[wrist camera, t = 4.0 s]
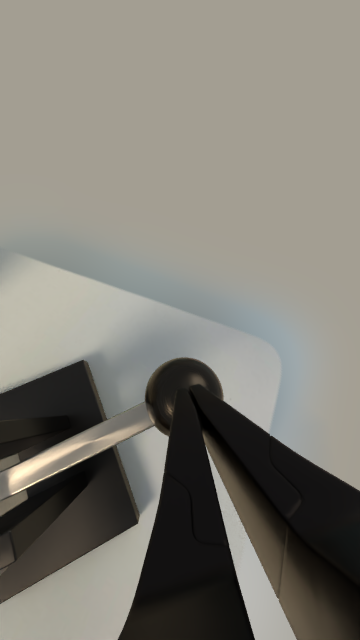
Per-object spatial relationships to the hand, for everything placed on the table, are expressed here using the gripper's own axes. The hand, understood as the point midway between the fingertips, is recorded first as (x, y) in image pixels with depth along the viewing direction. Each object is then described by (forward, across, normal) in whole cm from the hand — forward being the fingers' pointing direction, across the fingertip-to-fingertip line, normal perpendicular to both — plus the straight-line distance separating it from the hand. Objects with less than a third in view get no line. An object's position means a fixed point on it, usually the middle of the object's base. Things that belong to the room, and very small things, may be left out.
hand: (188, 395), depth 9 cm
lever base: (+7, +10, +9) cm, 15 cm away
